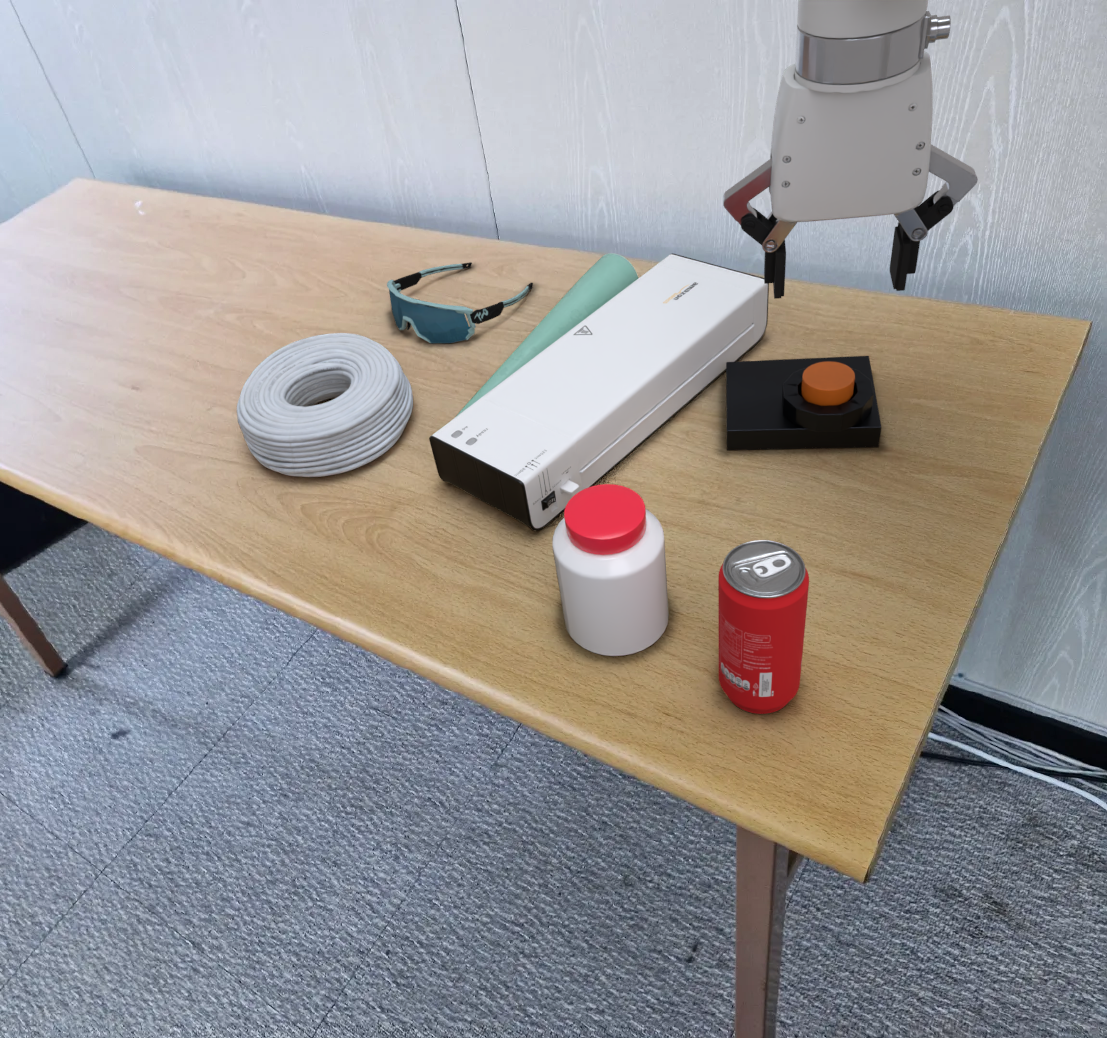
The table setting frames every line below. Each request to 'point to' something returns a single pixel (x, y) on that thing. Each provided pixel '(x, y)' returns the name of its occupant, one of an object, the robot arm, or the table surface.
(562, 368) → the laminator
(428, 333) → the sunglasses
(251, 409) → the cable
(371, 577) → the table surface
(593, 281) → the long green cone
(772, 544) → the beverage can
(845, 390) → the button
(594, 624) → the pill bottle
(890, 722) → the table surface
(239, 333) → the table surface
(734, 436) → the black rectangular base
